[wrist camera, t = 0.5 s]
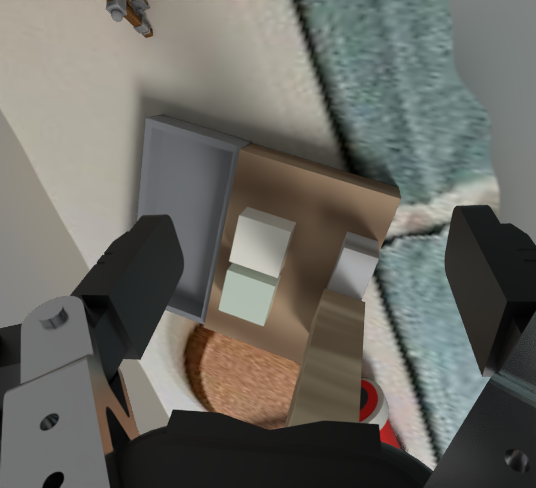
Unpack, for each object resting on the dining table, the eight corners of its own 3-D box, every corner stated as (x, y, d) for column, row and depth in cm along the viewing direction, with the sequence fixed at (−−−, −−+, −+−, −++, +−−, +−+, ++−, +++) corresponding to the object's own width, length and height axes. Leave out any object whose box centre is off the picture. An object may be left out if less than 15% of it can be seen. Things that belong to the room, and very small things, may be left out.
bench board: (251, 143, 31) (239, 149, 28) (398, 187, 29) (401, 199, 26) (216, 309, 38) (203, 327, 35) (331, 352, 37) (327, 373, 34)
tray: (161, 114, 32) (145, 117, 29) (252, 142, 30) (242, 147, 28) (144, 284, 39) (130, 296, 37) (215, 310, 38) (205, 325, 36)
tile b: (235, 259, 32) (227, 269, 30) (280, 274, 31) (275, 286, 29) (226, 297, 33) (218, 309, 32) (269, 313, 33) (263, 326, 31)
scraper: (343, 230, 28) (309, 384, 14) (382, 242, 28) (388, 414, 14) (306, 332, 33) (252, 527, 19) (339, 344, 32) (311, 553, 18)
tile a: (247, 206, 30) (239, 215, 28) (296, 222, 29) (291, 232, 27) (237, 250, 31) (229, 261, 30) (283, 266, 31) (277, 278, 29)
